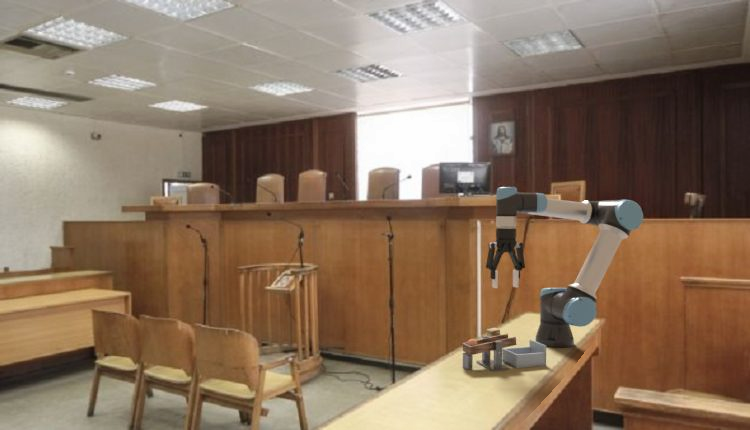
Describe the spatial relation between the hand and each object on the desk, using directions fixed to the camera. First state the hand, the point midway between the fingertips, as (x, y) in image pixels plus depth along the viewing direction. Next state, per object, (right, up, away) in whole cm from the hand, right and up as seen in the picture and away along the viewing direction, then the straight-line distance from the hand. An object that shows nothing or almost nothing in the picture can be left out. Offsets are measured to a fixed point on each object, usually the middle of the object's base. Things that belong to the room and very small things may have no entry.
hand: (505, 287), depth 204 cm
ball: (-15, -18, -18) cm, 30 cm away
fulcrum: (-12, -25, -17) cm, 33 cm away
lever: (-11, -19, -13) cm, 25 cm away
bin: (+4, -25, -12) cm, 28 cm away
